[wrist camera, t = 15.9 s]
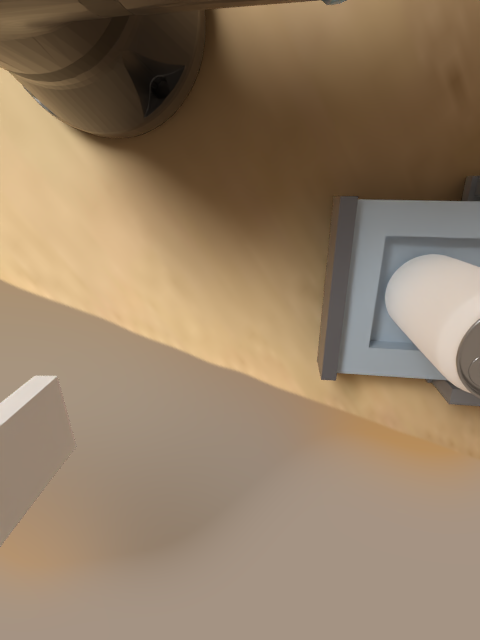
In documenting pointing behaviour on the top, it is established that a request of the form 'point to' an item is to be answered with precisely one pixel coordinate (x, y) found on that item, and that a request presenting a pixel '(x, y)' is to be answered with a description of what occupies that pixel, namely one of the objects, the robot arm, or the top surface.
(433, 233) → the tray
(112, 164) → the top surface
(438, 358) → the can
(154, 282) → the top surface
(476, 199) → the tray
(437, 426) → the top surface
